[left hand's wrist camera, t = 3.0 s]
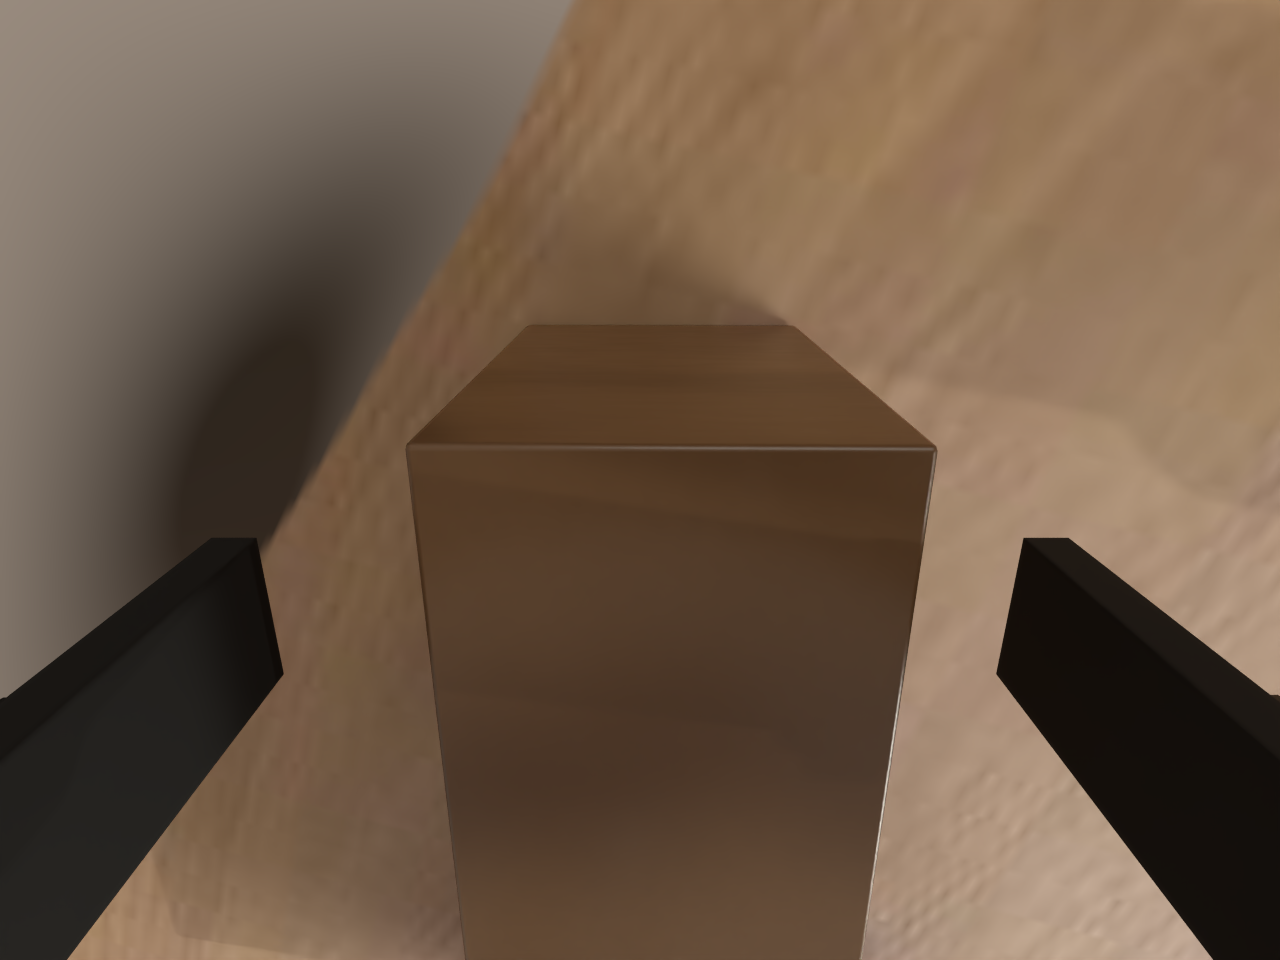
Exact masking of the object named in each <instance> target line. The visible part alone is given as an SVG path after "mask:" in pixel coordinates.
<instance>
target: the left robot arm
mask: <svg viewBox="0 0 1280 960" xmlns="http://www.w3.org/2000/svg"><path fill="white" fill-rule="evenodd" d="M283 674H284V673H283V668H282V663H281V658H280V653H279V648H278V643H277V638H276V633H275V628H274V623H273V618H272V613H271V608H270V603H269V598H268V593H267V588H266V583H265V578H264V573H263V568H262V564H261V559H260V554H259V549H258V544H257V539H256V538H211V539H210V540H208V541H207V542H206V543H204V544H203V545H202V546H201V547H199V548H198V549H197V550H195V551H194V552H193V553H192V554H190V555H189V556H188V557H186V558H185V559H184V560H183V561H181V562H180V563H179V564H177V565H176V566H175V567H174V568H172V569H171V570H170V571H168V572H167V573H166V574H165V575H163V576H162V577H161V578H159V579H158V580H157V581H156V582H154V583H153V584H152V585H150V586H149V587H148V588H147V589H145V590H144V591H143V592H141V593H140V594H139V595H138V596H136V597H135V598H134V599H132V600H131V601H130V602H129V603H127V604H126V605H125V606H123V607H122V608H121V609H120V610H118V611H117V612H116V613H114V614H113V615H112V616H111V617H109V618H108V619H107V620H105V621H104V622H103V623H102V624H100V625H99V626H98V627H96V628H95V629H94V630H93V631H91V632H90V633H89V634H87V635H86V636H85V637H84V638H82V639H81V640H80V641H78V642H77V643H76V644H75V645H73V646H72V647H71V648H70V649H68V650H67V651H66V652H64V653H63V654H62V655H60V656H59V657H58V658H57V659H55V660H54V661H53V662H51V663H50V664H49V665H48V666H46V667H45V668H44V669H42V670H41V671H40V672H39V673H37V674H36V675H35V676H33V677H32V678H31V679H30V680H28V681H27V682H26V683H24V684H23V685H22V686H21V687H19V688H18V689H17V690H16V691H14V692H13V693H12V694H10V695H9V696H8V697H6V698H2V699H0V960H67V959H68V958H69V956H70V955H71V954H72V952H73V951H74V950H75V948H76V947H77V946H78V944H79V943H80V942H81V940H82V939H83V938H84V936H85V935H86V934H87V932H88V931H89V930H90V929H91V927H92V926H93V925H94V923H95V922H96V921H97V919H98V918H99V917H100V915H101V914H102V913H103V911H104V910H105V909H106V907H107V906H108V905H109V903H110V902H111V901H112V900H113V898H114V897H115V896H116V894H117V893H118V892H119V890H120V889H121V888H122V886H123V885H124V884H125V882H126V881H127V880H128V878H129V877H130V876H131V874H132V873H133V872H134V871H135V869H136V868H137V867H138V865H139V864H140V863H141V861H142V860H143V859H144V857H145V856H146V855H147V853H148V852H149V851H150V849H151V848H152V847H153V846H154V844H155V843H156V842H157V840H158V839H159V838H160V836H161V835H162V834H163V832H164V831H165V830H166V828H167V827H168V826H169V824H170V823H171V822H172V820H173V819H174V818H175V817H176V815H177V814H178V813H179V811H180V810H181V809H182V807H183V806H184V805H185V803H186V802H187V801H188V799H189V798H190V797H191V795H192V794H193V793H194V791H195V790H196V789H197V788H198V786H199V785H200V784H201V782H202V781H203V780H204V778H205V777H206V776H207V774H208V773H209V772H210V770H211V769H212V768H213V766H214V765H215V764H216V763H217V761H218V760H219V759H220V757H221V756H222V755H223V753H224V752H225V751H226V749H227V748H228V747H229V745H230V744H231V743H232V741H233V740H234V739H235V737H236V736H237V735H238V734H239V732H240V731H241V730H242V728H243V727H244V726H245V724H246V723H247V722H248V720H249V719H250V718H251V716H252V715H253V714H254V712H255V711H256V710H257V708H258V707H259V706H260V705H261V703H262V702H263V701H264V699H265V698H266V697H267V695H268V694H269V693H270V691H271V690H272V689H273V687H274V686H275V685H276V683H277V682H278V681H279V680H280V678H281V677H282V676H283ZM996 674H997V676H998V677H999V678H1000V680H1001V681H1002V682H1003V683H1004V685H1005V686H1006V687H1007V689H1008V690H1009V691H1010V693H1011V694H1012V695H1013V697H1014V698H1015V699H1016V701H1017V702H1018V703H1019V705H1020V706H1021V707H1022V708H1023V710H1024V711H1025V712H1026V714H1027V715H1028V716H1029V718H1030V719H1031V720H1032V722H1033V723H1034V724H1035V726H1036V727H1037V728H1038V730H1039V731H1040V732H1041V734H1042V735H1043V736H1044V737H1045V739H1046V740H1047V741H1048V743H1049V744H1050V745H1051V747H1052V748H1053V749H1054V751H1055V752H1056V753H1057V755H1058V756H1059V757H1060V759H1061V760H1062V761H1063V763H1064V764H1065V765H1066V766H1067V768H1068V769H1069V770H1070V772H1071V773H1072V774H1073V776H1074V777H1075V778H1076V780H1077V781H1078V782H1079V784H1080V785H1081V786H1082V788H1083V789H1084V790H1085V791H1086V793H1087V794H1088V795H1089V797H1090V798H1091V799H1092V801H1093V802H1094V803H1095V805H1096V806H1097V807H1098V809H1099V810H1100V811H1101V813H1102V814H1103V815H1104V817H1105V818H1106V819H1107V820H1108V822H1109V823H1110V824H1111V826H1112V827H1113V828H1114V830H1115V831H1116V832H1117V834H1118V835H1119V836H1120V838H1121V839H1122V840H1123V842H1124V843H1125V844H1126V846H1127V847H1128V848H1129V849H1130V851H1131V852H1132V853H1133V855H1134V856H1135V857H1136V859H1137V860H1138V861H1139V863H1140V864H1141V865H1142V867H1143V868H1144V869H1145V871H1146V872H1147V873H1148V874H1149V876H1150V877H1151V878H1152V880H1153V881H1154V882H1155V884H1156V885H1157V886H1158V888H1159V889H1160V890H1161V892H1162V893H1163V894H1164V896H1165V897H1166V898H1167V900H1168V901H1169V902H1170V903H1171V905H1172V906H1173V907H1174V909H1175V910H1176V911H1177V913H1178V914H1179V915H1180V917H1181V918H1182V919H1183V921H1184V922H1185V923H1186V925H1187V926H1188V927H1189V929H1190V930H1191V931H1192V932H1193V934H1194V935H1195V936H1196V938H1197V939H1198V940H1199V942H1200V943H1201V944H1202V946H1203V947H1204V948H1205V950H1206V951H1207V952H1208V954H1209V955H1210V956H1211V958H1212V959H1213V960H1280V696H1279V695H1270V694H1268V693H1267V692H1266V691H1265V690H1263V689H1262V688H1261V687H1259V686H1258V685H1257V684H1256V683H1254V682H1253V681H1252V680H1250V679H1249V678H1248V677H1247V676H1245V675H1244V674H1243V673H1241V672H1240V671H1239V670H1238V669H1236V668H1235V667H1234V666H1232V665H1231V664H1230V663H1229V662H1227V661H1226V660H1225V659H1223V658H1222V657H1221V656H1220V655H1218V654H1217V653H1216V652H1214V651H1213V650H1212V649H1211V648H1209V647H1208V646H1207V645H1205V644H1204V643H1203V642H1202V641H1200V640H1199V639H1198V638H1196V637H1195V636H1194V635H1193V634H1191V633H1190V632H1189V631H1187V630H1186V629H1185V628H1184V627H1182V626H1181V625H1180V624H1178V623H1177V622H1176V621H1175V620H1173V619H1172V618H1171V617H1169V616H1168V615H1167V614H1166V613H1164V612H1163V611H1162V610H1160V609H1159V608H1158V607H1157V606H1155V605H1154V604H1153V603H1151V602H1150V601H1149V600H1148V599H1146V598H1145V597H1144V596H1142V595H1141V594H1140V593H1139V592H1137V591H1136V590H1135V589H1133V588H1132V587H1131V586H1130V585H1128V584H1127V583H1126V582H1124V581H1123V580H1122V579H1121V578H1119V577H1118V576H1117V575H1115V574H1114V573H1113V572H1112V571H1110V570H1109V569H1108V568H1106V567H1105V566H1104V565H1103V564H1101V563H1100V562H1099V561H1097V560H1096V559H1095V558H1094V557H1092V556H1091V555H1090V554H1088V553H1087V552H1086V551H1085V550H1083V549H1082V548H1081V547H1079V546H1078V545H1077V544H1076V543H1074V542H1073V541H1072V540H1070V539H1069V538H1024V539H1023V544H1022V549H1021V554H1020V559H1019V563H1018V568H1017V573H1016V578H1015V583H1014V588H1013V593H1012V598H1011V603H1010V608H1009V613H1008V618H1007V623H1006V628H1005V633H1004V638H1003V643H1002V648H1001V653H1000V658H999V663H998V668H997V673H996Z"/></svg>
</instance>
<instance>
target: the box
mask: <svg viewBox="0 0 1280 960" xmlns="http://www.w3.org/2000/svg"><path fill="white" fill-rule="evenodd" d="M937 452H938V451H937V448H936V446H935V445H934V444H933V443H932V442H930V441H929V440H928V439H927V438H926V437H925V436H923V435H922V434H921V433H920V432H919V431H917V430H916V429H915V428H914V427H913V426H912V425H910V424H909V423H908V422H907V421H906V420H904V419H903V418H902V417H901V416H900V415H899V414H897V413H896V412H895V411H894V410H893V409H892V408H890V407H889V406H888V405H887V404H886V403H884V402H883V401H882V400H881V399H880V398H879V397H877V396H876V395H875V394H874V393H873V392H871V391H870V390H869V389H868V388H867V387H866V386H864V385H863V384H862V383H861V382H860V381H859V380H857V379H856V378H855V377H854V376H853V375H851V374H850V373H849V372H848V371H847V370H846V369H844V368H843V367H842V366H841V365H840V364H838V363H837V362H836V361H835V360H834V359H833V358H831V357H830V356H829V355H828V354H827V353H826V352H824V351H823V350H822V349H821V348H820V347H818V346H817V345H816V344H815V343H814V342H813V341H811V340H810V339H809V338H808V337H807V336H805V335H804V334H803V333H802V332H801V331H800V330H798V329H797V328H796V327H794V326H698V325H529V326H527V327H526V328H525V329H524V330H523V331H522V332H521V333H520V334H519V335H518V336H517V337H516V338H515V339H514V340H513V341H512V342H511V343H510V344H509V345H508V346H507V347H506V348H505V349H504V350H503V351H502V352H501V353H500V354H499V355H498V356H496V357H495V358H494V359H493V360H492V361H491V362H490V363H489V364H488V365H487V366H486V367H485V368H484V369H483V370H482V371H481V372H480V373H479V374H478V375H477V376H476V377H475V378H474V379H473V380H472V381H471V382H470V383H469V384H468V385H467V386H466V387H465V388H464V389H463V390H462V391H461V392H460V393H459V394H458V395H457V396H456V397H455V398H454V399H453V400H452V401H451V402H449V403H448V404H447V405H446V406H445V407H444V408H443V409H442V410H441V411H440V412H439V413H438V414H437V415H436V416H435V417H434V418H433V419H432V420H431V421H430V422H429V423H428V424H427V425H426V426H425V427H424V428H423V429H422V430H421V431H420V432H419V433H418V434H417V435H416V436H415V437H414V438H413V439H412V440H411V441H410V442H409V443H408V444H407V446H406V457H407V465H408V474H409V483H410V491H411V500H412V508H413V517H414V525H415V534H416V542H417V551H418V559H419V568H420V576H421V585H422V593H423V602H424V611H425V619H426V628H427V636H428V645H429V653H430V662H431V670H432V679H433V687H434V696H435V704H436V713H437V721H438V730H439V738H440V747H441V756H442V764H443V773H444V781H445V790H446V798H447V807H448V815H449V824H450V832H451V841H452V849H453V858H454V866H455V875H456V883H457V892H458V901H459V909H460V918H461V926H462V935H463V943H464V952H465V960H862V955H863V948H864V942H865V935H866V928H867V921H868V915H869V908H870V901H871V895H872V888H873V881H874V874H875V868H876V861H877V854H878V848H879V841H880V834H881V827H882V821H883V814H884V807H885V801H886V794H887V787H888V780H889V774H890V767H891V760H892V754H893V747H894V740H895V733H896V727H897V720H898V713H899V707H900V700H901V693H902V686H903V680H904V673H905V666H906V660H907V653H908V646H909V639H910V633H911V626H912V619H913V613H914V606H915V599H916V592H917V586H918V579H919V572H920V566H921V559H922V552H923V546H924V539H925V532H926V525H927V519H928V512H929V505H930V499H931V492H932V485H933V478H934V472H935V465H936V458H937Z"/></svg>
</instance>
